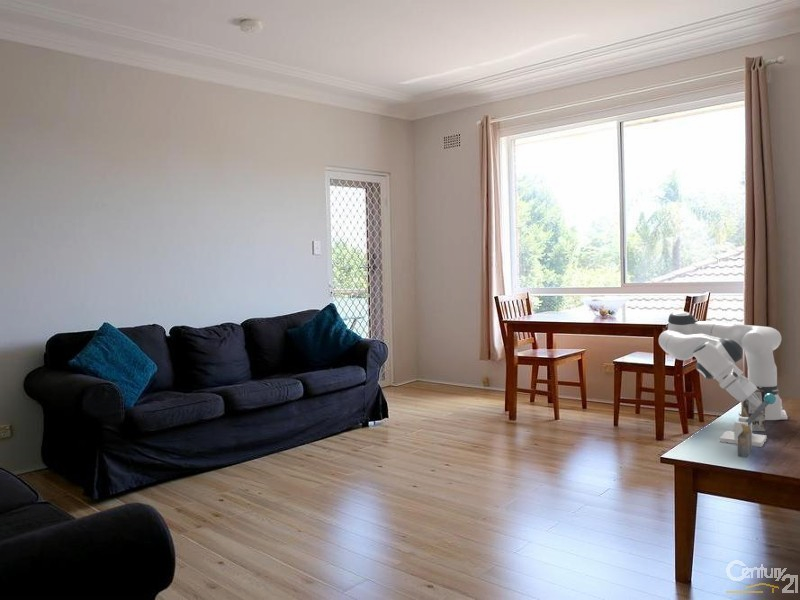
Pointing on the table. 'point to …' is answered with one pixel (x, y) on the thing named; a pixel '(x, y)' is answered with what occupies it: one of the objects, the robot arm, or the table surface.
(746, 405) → the coffee box
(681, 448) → the table surface
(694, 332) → the robot arm
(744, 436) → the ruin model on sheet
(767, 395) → the lever
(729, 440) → the lever stand
